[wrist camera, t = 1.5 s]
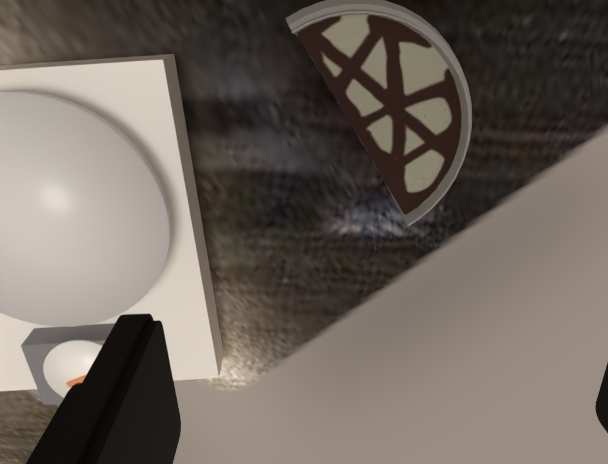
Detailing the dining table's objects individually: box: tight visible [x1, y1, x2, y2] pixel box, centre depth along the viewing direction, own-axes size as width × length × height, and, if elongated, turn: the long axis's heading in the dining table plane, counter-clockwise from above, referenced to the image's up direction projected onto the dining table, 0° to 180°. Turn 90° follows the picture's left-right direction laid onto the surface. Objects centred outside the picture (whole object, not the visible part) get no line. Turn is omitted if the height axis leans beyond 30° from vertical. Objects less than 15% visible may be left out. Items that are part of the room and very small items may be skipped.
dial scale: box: [0, 54, 224, 405], centre depth 34 cm, size 24×18×5 cm
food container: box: [286, 0, 472, 226], centre depth 28 cm, size 12×6×10 cm, turn 32°
